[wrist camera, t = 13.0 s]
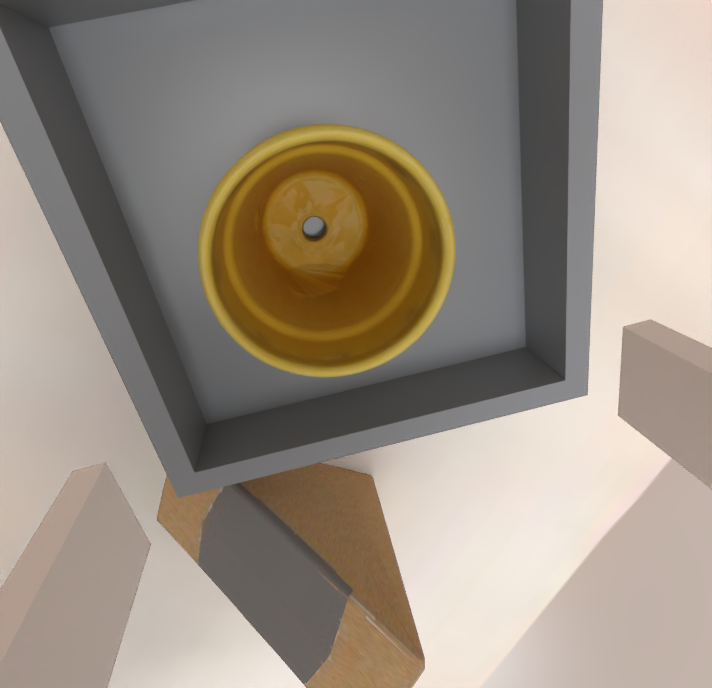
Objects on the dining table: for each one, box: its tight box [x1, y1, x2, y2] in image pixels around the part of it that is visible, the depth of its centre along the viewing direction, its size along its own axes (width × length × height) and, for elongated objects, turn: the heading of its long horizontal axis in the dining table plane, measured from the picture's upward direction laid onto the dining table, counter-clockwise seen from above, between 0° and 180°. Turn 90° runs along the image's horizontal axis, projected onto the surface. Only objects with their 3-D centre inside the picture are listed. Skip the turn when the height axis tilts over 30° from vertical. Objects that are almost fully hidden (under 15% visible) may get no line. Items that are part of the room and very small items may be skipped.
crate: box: [0, 0, 603, 498], centre depth 25 cm, size 26×26×6 cm
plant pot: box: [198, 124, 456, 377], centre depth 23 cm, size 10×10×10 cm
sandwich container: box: [157, 463, 425, 688], centre depth 29 cm, size 9×15×15 cm, turn 69°
